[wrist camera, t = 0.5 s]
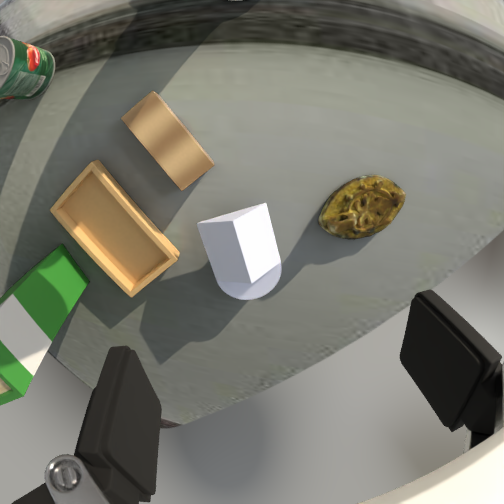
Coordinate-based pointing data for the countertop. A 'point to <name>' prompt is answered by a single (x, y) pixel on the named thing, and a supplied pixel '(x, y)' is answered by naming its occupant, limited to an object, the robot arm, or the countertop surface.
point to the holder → (113, 229)
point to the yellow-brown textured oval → (362, 207)
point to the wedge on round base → (242, 252)
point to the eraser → (168, 140)
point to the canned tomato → (24, 69)
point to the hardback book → (35, 318)
